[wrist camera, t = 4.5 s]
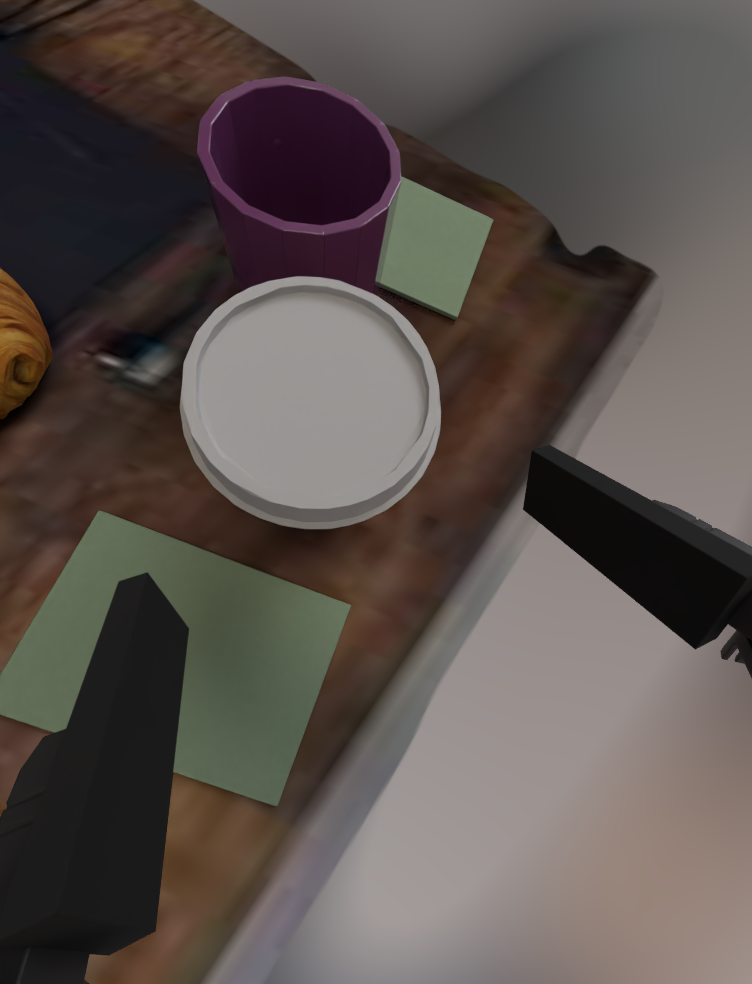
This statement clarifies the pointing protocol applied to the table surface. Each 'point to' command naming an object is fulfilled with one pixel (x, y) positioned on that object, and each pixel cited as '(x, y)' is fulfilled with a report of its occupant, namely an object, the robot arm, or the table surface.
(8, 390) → the croissant
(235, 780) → the cup mat
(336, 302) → the disposable coffee cup
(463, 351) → the table surface
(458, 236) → the mug mat
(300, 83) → the plum mug
